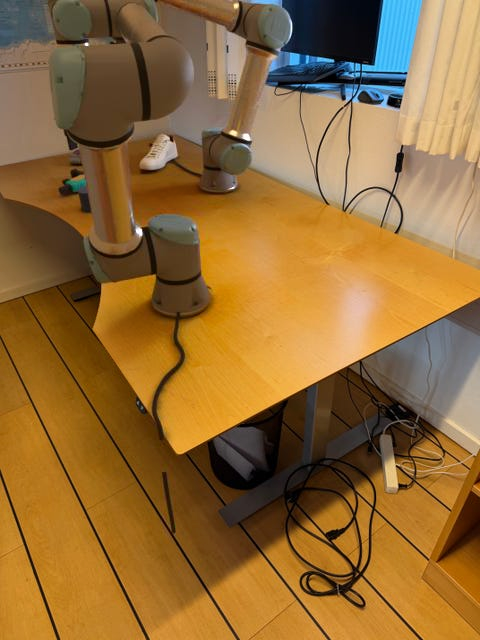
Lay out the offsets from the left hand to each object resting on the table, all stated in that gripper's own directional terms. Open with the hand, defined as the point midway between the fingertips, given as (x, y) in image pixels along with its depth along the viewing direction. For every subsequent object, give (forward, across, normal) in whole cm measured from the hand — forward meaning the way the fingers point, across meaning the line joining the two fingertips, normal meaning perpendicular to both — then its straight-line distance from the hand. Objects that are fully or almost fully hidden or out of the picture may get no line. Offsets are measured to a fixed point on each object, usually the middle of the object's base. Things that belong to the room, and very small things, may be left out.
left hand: (93, 152), depth 128 cm
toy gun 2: (+32, +51, -43) cm, 74 cm away
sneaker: (+32, +36, -81) cm, 94 cm away
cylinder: (+32, +31, -27) cm, 52 cm away
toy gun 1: (+32, +67, -71) cm, 103 cm away
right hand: (-6, +9, -32) cm, 33 cm away
